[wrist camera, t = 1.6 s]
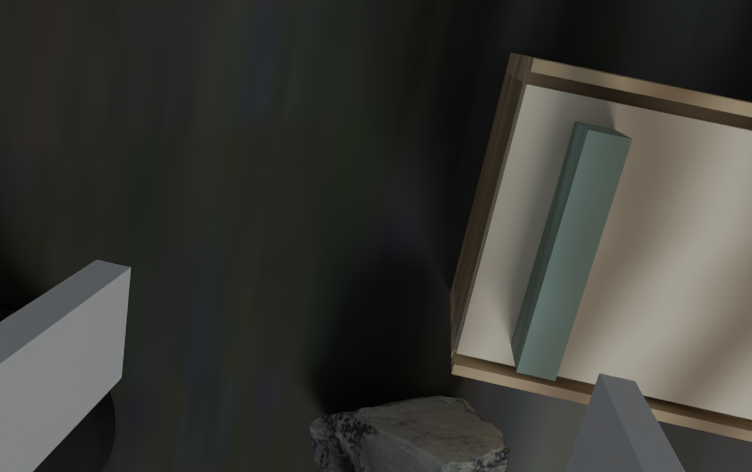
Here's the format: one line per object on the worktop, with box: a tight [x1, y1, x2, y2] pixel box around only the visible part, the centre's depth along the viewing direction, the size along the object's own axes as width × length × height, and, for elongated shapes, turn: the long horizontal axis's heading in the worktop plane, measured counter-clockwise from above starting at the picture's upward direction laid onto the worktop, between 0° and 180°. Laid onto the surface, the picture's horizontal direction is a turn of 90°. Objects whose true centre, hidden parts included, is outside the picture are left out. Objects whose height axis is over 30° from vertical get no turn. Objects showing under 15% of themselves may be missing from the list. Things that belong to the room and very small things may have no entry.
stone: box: [310, 395, 510, 472], centre depth 38 cm, size 10×10×10 cm
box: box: [450, 53, 752, 442], centre depth 31 cm, size 22×14×10 cm, turn 80°
